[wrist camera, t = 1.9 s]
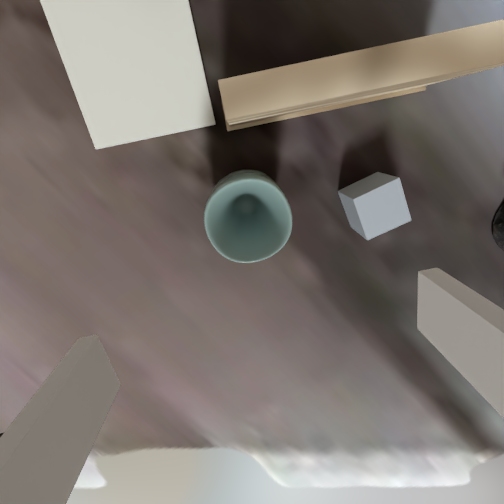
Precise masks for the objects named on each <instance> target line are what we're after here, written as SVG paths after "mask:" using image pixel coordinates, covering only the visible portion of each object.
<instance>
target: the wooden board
mask: <svg viewBox="0 0 504 504" xmlns="http://www.w3.org/2000/svg"><path fill="white" fill-rule="evenodd" d="M500 66H504V19H503V20H499V21H494V22H489V23H485V24H480V25H475V26H470V27H466V28H461V29H456V30H452V31H447V32H442V33H438V34H433V35H428V36H423V37H419V38H414V39H409V40H405V41H400V42H395V43H390V44H386V45H381V46H376V47H372V48H367V49H362V50H357V51H353V52H348V53H343V54H339V55H334V56H329V57H324V58H320V59H315V60H310V61H306V62H301V63H296V64H291V65H287V66H282V67H277V68H273V69H268V70H263V71H258V72H254V73H249V74H244V75H240V76H235V77H230V78H225V79H221V80H218V83H219V88H220V93H221V98H222V102H221V103H222V107H223V112H224V117H225V122H226V127H227V131H232V130H237V129H242V128H246V127H251V126H256V125H261V124H266V123H270V122H275V121H280V120H285V119H290V118H294V117H299V116H304V115H309V114H314V113H318V112H323V111H328V110H333V109H338V108H343V107H347V106H352V105H357V104H362V103H367V102H371V101H376V100H381V99H386V98H391V97H395V96H400V95H405V94H410V93H415V92H419V91H424V90H426V85H430V84H434V83H437V82H441V81H445V80H449V79H453V78H457V77H461V76H465V75H469V74H472V73H476V72H480V71H484V70H488V69H492V68H496V67H500Z"/></svg>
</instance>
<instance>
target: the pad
mask: <svg viewBox="0 0 504 504" xmlns="http://www.w3.org/2000/svg"><path fill="white" fill-rule="evenodd" d="M40 2H41V4H42V7H43V10H44V12H45V15H46V18H47V20H48V23H49V26H50V28H51V31H52V34H53V36H54V39H55V42H56V45H57V47H58V50H59V53H60V55H61V58H62V61H63V63H64V66H65V69H66V71H67V74H68V77H69V79H70V82H71V85H72V87H73V90H74V93H75V95H76V98H77V101H78V103H79V106H80V109H81V111H82V114H83V117H84V119H85V122H86V125H87V127H88V130H89V133H90V135H91V138H92V141H93V143H94V146H95V149H101V148H106V147H111V146H115V145H120V144H125V143H130V142H134V141H139V140H144V139H149V138H154V137H158V136H163V135H168V134H173V133H178V132H182V131H187V130H192V129H197V128H202V127H206V126H211V125H216V123H215V119H214V114H213V109H212V105H211V100H210V96H209V91H208V87H207V82H206V77H205V73H204V68H203V64H202V59H201V55H200V50H199V46H198V41H197V36H196V32H195V27H194V23H193V18H192V14H191V9H190V4H189V0H40Z"/></svg>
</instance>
